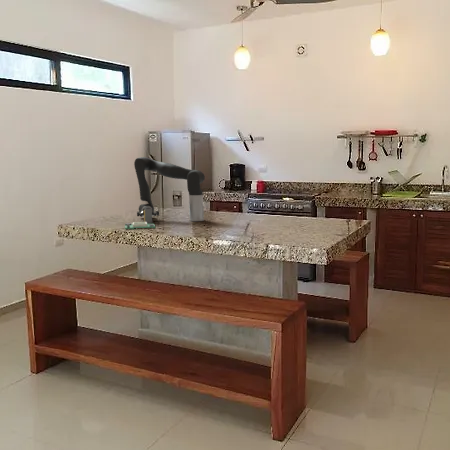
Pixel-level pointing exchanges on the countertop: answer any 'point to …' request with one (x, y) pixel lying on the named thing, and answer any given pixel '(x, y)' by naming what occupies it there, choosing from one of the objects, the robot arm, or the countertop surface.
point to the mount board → (139, 225)
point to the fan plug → (148, 215)
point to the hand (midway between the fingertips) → (148, 214)
